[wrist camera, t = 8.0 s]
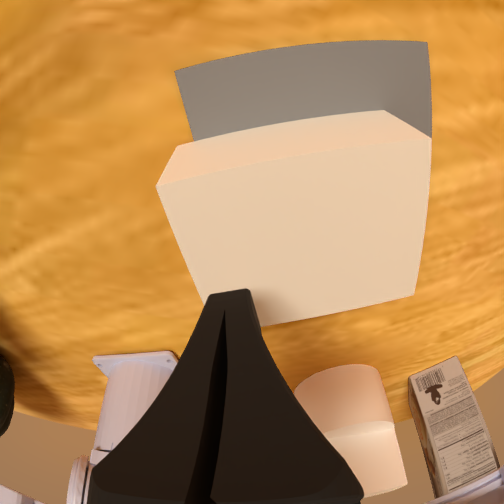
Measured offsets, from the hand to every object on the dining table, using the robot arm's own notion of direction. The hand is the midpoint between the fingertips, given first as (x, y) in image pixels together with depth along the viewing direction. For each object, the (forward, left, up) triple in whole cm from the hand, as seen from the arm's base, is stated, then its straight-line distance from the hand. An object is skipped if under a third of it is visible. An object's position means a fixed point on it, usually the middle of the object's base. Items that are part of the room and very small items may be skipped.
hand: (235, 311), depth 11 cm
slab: (0, +2, -5) cm, 5 cm away
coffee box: (-27, -17, -8) cm, 33 cm away
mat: (0, -5, -7) cm, 9 cm away
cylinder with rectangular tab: (-22, -5, -8) cm, 24 cm away
